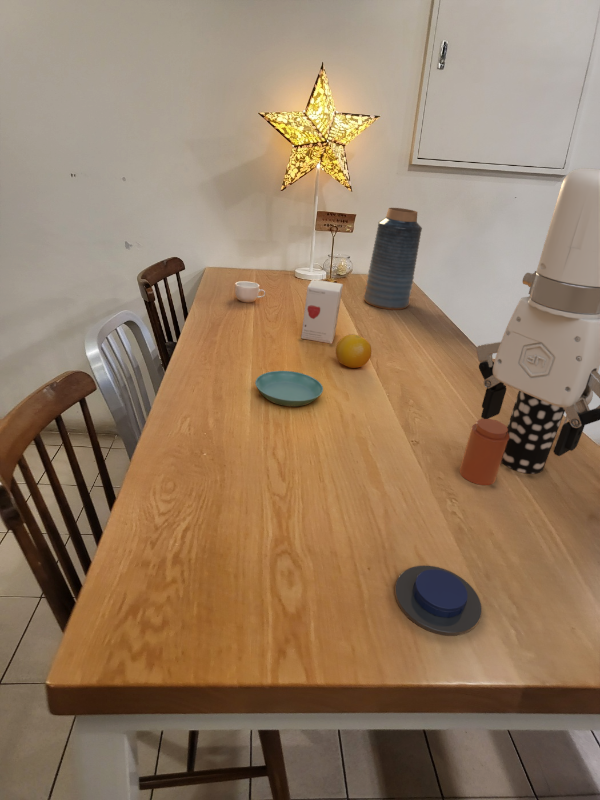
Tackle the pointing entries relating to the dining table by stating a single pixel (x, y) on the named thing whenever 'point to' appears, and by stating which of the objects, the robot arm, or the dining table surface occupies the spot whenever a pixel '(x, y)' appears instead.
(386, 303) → the vase
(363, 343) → the fruit
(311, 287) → the rectangular carton
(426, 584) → the lid
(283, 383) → the saucer
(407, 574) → the coaster
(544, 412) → the spotted tube
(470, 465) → the jar
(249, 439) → the dining table surface
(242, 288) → the teacup
